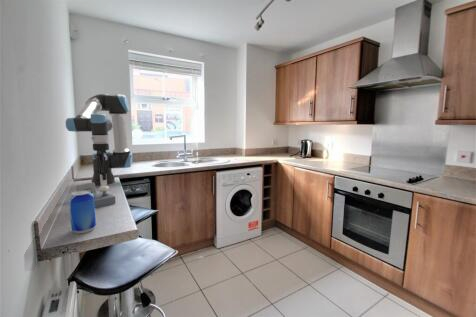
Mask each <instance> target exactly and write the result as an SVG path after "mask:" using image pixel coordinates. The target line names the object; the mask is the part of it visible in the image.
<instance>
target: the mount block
mask: <svg viewBox="0 0 476 317" xmlns="http://www.w3.org/2000/svg"><path fill="white" fill-rule="evenodd" d="M113 204H114V205H115V204H116V196H115V195H113V194H111V193H108V192H107V196H104V197H103V193H102V192H101V193H97V194H95V198H94V206H95V209H99V208H102V207H106V206H110V205H113Z"/></svg>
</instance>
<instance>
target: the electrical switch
mask: <svg viewBox="0 0 476 317" xmlns="http://www.w3.org/2000/svg"><path fill="white" fill-rule="evenodd" d="M75 188H76V191H82V190H89V191H91V193H95V194H98V192H97V188H96V185H95V183H92V182H89V183H88V182H87V183H84V184H83V183H81V184H77V185H76V186H75Z"/></svg>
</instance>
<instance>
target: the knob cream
mask: <svg viewBox="0 0 476 317" xmlns="http://www.w3.org/2000/svg"><path fill="white" fill-rule="evenodd" d="M109 190H110V186H109V185H106V186H101V185H100V186H99V192H101V193H103V197H104V196H107V193H108V192H107V191H109Z"/></svg>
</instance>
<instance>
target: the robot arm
mask: <svg viewBox="0 0 476 317" xmlns="http://www.w3.org/2000/svg"><path fill="white" fill-rule="evenodd" d="M102 111H103V112H104V111H105V112H108V114H109V115H110V116H111V119H112V120H111V119H109V118H108V116H107V115H106V114H105V113H104V114H103V113H100V112H102ZM129 111H130V104H129V100H128V98H127V96H126V95H124V94H117V93H116V94H115V93H114V94H113V93H109V94H108V93H107V94H106V93H101V94H96V95H93V96H91V97H90V98H88V99H87V100H86V101H85V105H84V107H83V108H81V110H80V111H79V112H78V113H77V115H76V116H75V117H67V118H66V120H65V128H66V130H67V131H68V132H75V133H77V132H79V133H80V132H90V133H91V137H90V138H91V139H92V140H91V142H92V150H93V151H95V153H94V152H93V154H92V156H91V157H92V169H93V174H92V176H91V183H95V186H98V184H101V185H100V187H101V186H108V185H109V184H108V183H110V184H113V183H115V182H114V181H116V179H115V177H114V174H113V171H112V169H128V168H129V169H130V168H131V167H132V166H133V165H132V164H133V155H134V154H133V152H131V150H130V149H129V148H128V137H127V126H126V116H127V114H128V112H129ZM110 131H113V132H112V133H113V143H114V149H113V150H112V152H111V151H110V144H109V142H110V140H109V132H110ZM112 182H113V183H112Z"/></svg>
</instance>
